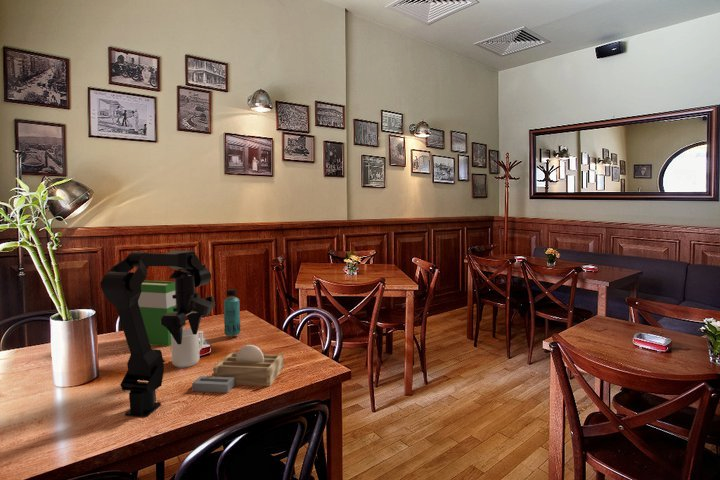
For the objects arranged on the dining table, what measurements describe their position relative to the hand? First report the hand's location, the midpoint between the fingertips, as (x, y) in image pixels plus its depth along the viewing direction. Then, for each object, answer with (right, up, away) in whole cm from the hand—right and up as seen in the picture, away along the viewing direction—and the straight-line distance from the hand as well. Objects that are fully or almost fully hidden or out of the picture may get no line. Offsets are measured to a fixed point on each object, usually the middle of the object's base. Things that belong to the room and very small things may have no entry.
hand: (187, 339), depth 129 cm
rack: (+19, -13, +4) cm, 23 cm away
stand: (+10, -14, -5) cm, 18 cm away
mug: (-5, -12, +15) cm, 20 cm away
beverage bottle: (+2, -9, +41) cm, 42 cm away
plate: (+19, -7, +3) cm, 20 cm away
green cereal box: (-28, -10, +37) cm, 47 cm away
